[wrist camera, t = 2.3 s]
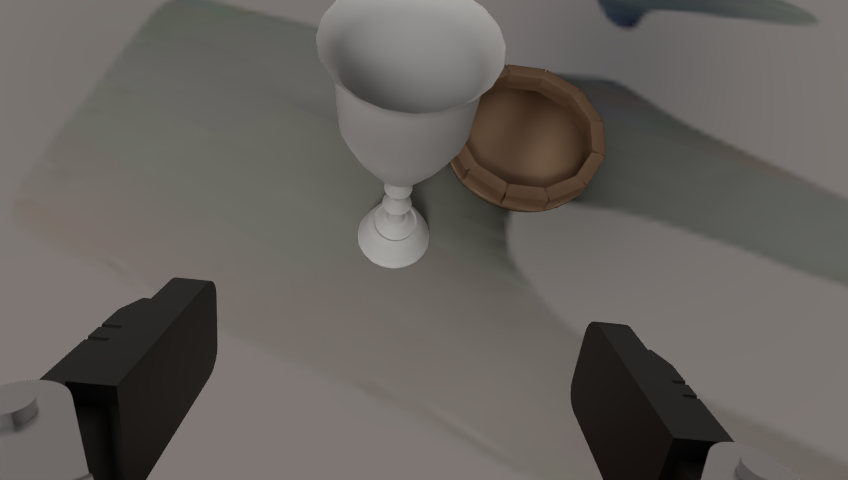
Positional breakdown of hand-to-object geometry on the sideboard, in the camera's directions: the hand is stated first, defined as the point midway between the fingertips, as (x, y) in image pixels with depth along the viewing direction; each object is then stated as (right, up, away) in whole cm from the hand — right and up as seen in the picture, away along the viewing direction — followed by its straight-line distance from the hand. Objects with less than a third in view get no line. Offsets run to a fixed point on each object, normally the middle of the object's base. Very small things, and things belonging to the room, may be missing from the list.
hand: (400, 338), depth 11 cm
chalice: (-2, +2, +25) cm, 25 cm away
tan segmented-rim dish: (+8, +10, +29) cm, 32 cm away
